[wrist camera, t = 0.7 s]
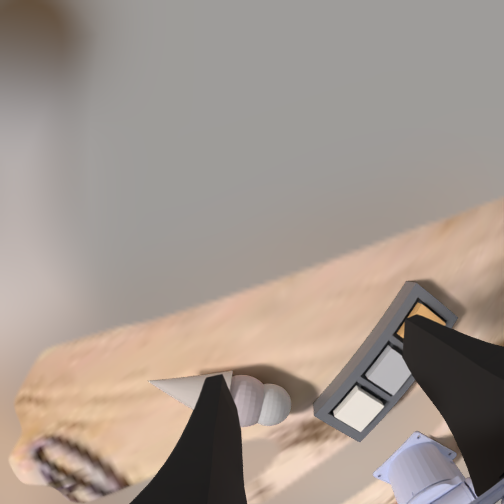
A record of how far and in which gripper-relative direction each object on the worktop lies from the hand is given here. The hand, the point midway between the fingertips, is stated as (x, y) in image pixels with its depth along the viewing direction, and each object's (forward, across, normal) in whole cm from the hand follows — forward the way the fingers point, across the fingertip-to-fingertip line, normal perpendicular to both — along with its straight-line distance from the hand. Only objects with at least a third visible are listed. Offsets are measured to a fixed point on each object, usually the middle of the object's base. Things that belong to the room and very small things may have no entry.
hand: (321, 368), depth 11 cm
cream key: (+10, -5, +18) cm, 21 cm away
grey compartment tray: (+14, -10, +16) cm, 23 cm away
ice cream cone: (+17, +7, +16) cm, 24 cm away
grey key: (+11, -9, +14) cm, 20 cm away
